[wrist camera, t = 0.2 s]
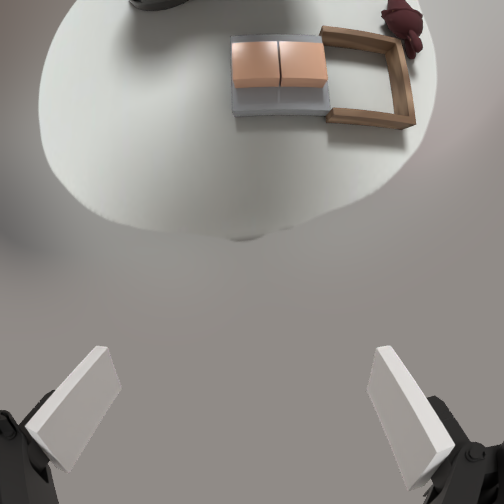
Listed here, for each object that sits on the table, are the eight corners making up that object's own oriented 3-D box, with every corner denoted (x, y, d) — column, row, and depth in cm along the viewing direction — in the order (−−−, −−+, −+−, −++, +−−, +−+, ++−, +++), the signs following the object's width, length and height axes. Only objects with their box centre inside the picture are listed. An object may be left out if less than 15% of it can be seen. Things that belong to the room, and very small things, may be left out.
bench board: (232, 45, 32) (230, 36, 29) (317, 45, 31) (321, 36, 28) (234, 116, 35) (232, 111, 32) (325, 115, 34) (330, 110, 31)
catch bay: (317, 40, 31) (322, 25, 27) (389, 50, 30) (400, 39, 26) (326, 122, 34) (333, 114, 30) (401, 129, 34) (416, 124, 29)
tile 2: (277, 52, 29) (279, 41, 26) (318, 53, 29) (323, 43, 26) (280, 86, 31) (282, 77, 28) (322, 87, 30) (327, 79, 27)
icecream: (371, -26, 22) (397, 47, 26) (413, -21, 19) (442, 51, 24) (368, -6, 28) (389, 61, 32) (405, -4, 26) (429, 64, 30)
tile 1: (234, 53, 30) (231, 43, 27) (276, 52, 29) (276, 41, 26) (235, 88, 31) (232, 79, 28) (278, 86, 31) (279, 77, 28)
